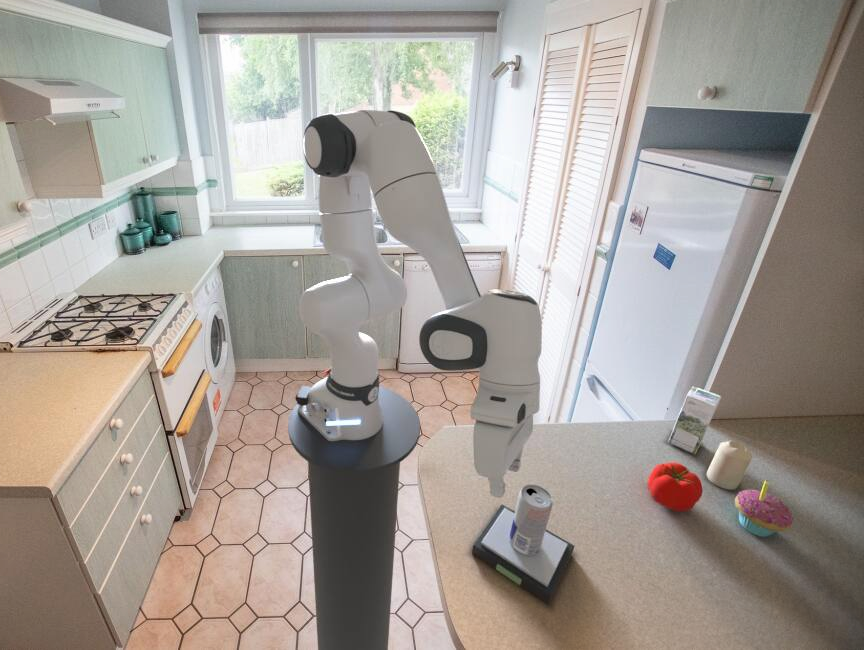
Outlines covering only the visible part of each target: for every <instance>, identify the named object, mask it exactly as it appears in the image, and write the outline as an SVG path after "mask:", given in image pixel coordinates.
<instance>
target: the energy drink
mask: <svg viewBox="0 0 864 650" xmlns="http://www.w3.org/2000/svg"><path fill="white" fill-rule="evenodd" d="M552 508H553V498H552V495H551V494H550V492H549V491H548V490H547V489H545V488H544V487H542V486H540V485H537V484H533V483H531V484H526V485H524V486H523V487H522V488H521V489H520V491H519V493H518V497H517V501H516V506H515V510H514V511H515V514H514V518H513V523H512V527H511V531H510V536H509V540H510V543H511V545H512V546H513V548H514V549H515V550H516V551H518V552H519V553H521V554H523V555H527V556H532V555H536V554H537V553H538V552H539V551H540V548H541V544H542V541H543V537H544V534H545V530H547V526H548V523H549V519H550V516H551V513H552V510H553V509H552Z"/></svg>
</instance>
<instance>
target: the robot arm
mask: <svg viewBox="0 0 864 650" xmlns="http://www.w3.org/2000/svg"><path fill="white" fill-rule="evenodd" d="M302 151H303V155H304V159H305V162H306V164H307V166H308V167H309V168H310V169H311V170H312V172H313V174H316V175H318V185H317V191H318V193H317V196H318V211H319V221H320V229H321V238H322V246H323V249H324V250H325V252H326V254H328V255H329V256H330V257H332V258H334V259H336V260H338V261H341V262H344V263H345V265H346V267H347V271H348V275H347V276H343V277H339V278H334V279H330V280H326V281H322V282H320V283H317V284H316V285H313V286H312V287H310V288H308V289H305V290H304V291H303V292H302V294H301V296H300V299H299V303H298V312H299V313H298V314H299V317H300V321H302V323H303V325H304V326H305V328H307V329H308V330H309V331H310V332H312V333H314V334H315V335H318V336H320V337H321V338H322V339H323V340H324V341H325V343H326V344H327V346H328V349H329V357H330V358H329V359H330V366H329V367H328V369H327V370H324V372H323V373H322V377H323V378H322V379H321V380H319V381H317V382H316V383H315V384H313V385H312V386H308V385H307V386H306V385H301V387H300V389H299V391H298V393H297V394H296V395H295V401H296V405H297V404H299V407H298V412H299V413H300V414H301V415H302V416H303V417H304V418H305V419H306V420H307V421H308V422H309V423H310V424H311V425H313V426H314V427H315V428H316V429H317V430H318V431H319V432H320V433H321V434H322V435H323V436H324V437H325V438H326V439H327V440H328V441H338V440H362V439H366V438H369V437H371V436H373V435H375V434H376V433H377V432H378V431H379V430H380V429H381V427H382V424H383V419H382V415H381V412H380V406H379V399H378V392H379V386H380V371H379V347H378V345H377V343H376V340H374V339H373V338H372V337H371V336H370V335H368V334H367V333H364V332H360V328H361V326H362V325H365V324H367V323H370V322H374V321H376V320H380V319H383V318H387V317H389V316H390V315H392V314H394V313H395V312H397V311H399V310H401V309H402V308H403V307H404V306H405V305H406V302H407V298H408V287H407V284H406V282H405V280H404V278H403V277H402V275H401V274H400V273H399V272H398V271H396V270H395V269H393V268H392V267H390V266H389V265H388V264H387V263H386V261H385V259H384V258H383V256H382V253H381V252H380V249H379V246H378V242H377V236H376V229H375V228H376V227H375V222H374V221H375V220H374V219H375V218H374V208H373V200H372V199H374V203H375V206H376V209H377V212H378V215H379V217H380V220H381V221H382V223H383V225H384V227H385V229H386V230H387V232H388V234H389V235H390V237H392V238H394V239H395V240H396V241H398V242H399V243H402V244H403V245H405V246H407V247H409V248H410V249H412V250H413V251H415V252H416V253H417V254H418V255H420V256H421V258H423V259H424V260H425V262H426V263H427V265H428V266H429V268H430V270H431V272H432V275H433V277H434V280H435V282H436V285H437V288H438V290H439V293H440V295H441V297H442V300H443V303H444V305H445V310H442V311H440V312H438V313H436V314H435V313H434V315H432V316H430V317H429V318H427V319H426V320H425V321H424V323H423V324H422V326H421V328H420V331H419V338H418V341H419V342H418V343H419V348H420V351H421V354H422V355H423V357H424V359H425V360H426V361H427V362H428V363H429V364H430V365H431V366H433V367H434V368H436V369H437V370H441V371H447V372H451V371H452V372H455V371H470V370H477V371H478V386H477V392H476V396H475V398H474V400H473V402H472V403H471V405H470V419H471V420H474V424H473V433H472V435H473V436H472V437H473V442H472V443H473V464H474V469H475V472H476V473H477V475H479V476H480V477H484V478H487V479H488V483H489V494H490V496H491V497H495V498H498V499H502V498H503V496H504V494H505V492H506V482H504V477H505V475H506V473H507V472H508V471H510V472H514V473H517V472H518V471H519V470H520V469H521V462H522V455H523V451H524V447H525V445H526V444H527V442H528V441H529V439H530V438H531V436H532V435H533V429H534V415H535V414H537V413H538V412H539V411H540V401H541V400H540V399H541V374H540V370H539V361H540V357H541V354H542V350H543V349H542V347H543V345H542V344H543V328H542V325H543V324H542V316H541V315H542V314H541V309H540V306H539V303H538V302H537V301H536V300H535V299H534V298H533V297H532V296H530V295H529V294H525V293H523V292H519V291H515V290H509V289H500V288H499V289H498V288H495V289H488V290H487V291H485V292H484V293H483V294H482V295H481V292H480V290H479V287H478V286H477V283H476V281H475V278H474V276H473V272H472V270H471V268H470V265H469V263H468V260H467V258H466V255H465V253H464V250H463V247H462V245H461V243H460V240H459V237H458V235H457V231H456V228H455V226H454V223H453V220H452V216H451V214H450V210H449V207H448V203H447V200H446V196H445V193H444V190H443V186H442V183H441V180H440V176H439V174H438V171H437V169H436V165H435V163H434V161H433V158H432V156H431V154H430V151H429V150H428V147H427V145H426V143H425V142H424V139H423V137H422V136H421V134H420V132H419V131H418V129H417V125H416V123H415V121H414V119H412V117H411V116H410V115H408V114H406V113H404V112H400V111H397V110H387V111H385V110H374V109H360V110H357V111H348V112H347V111H346V112H341V113H336V114H335V113H334V114H333V113H325V114H321V115H318V116H314V117H313V118H311V119H310V120H309V121H308V123H307V125H306V127H305V129H304V132H303V135H302ZM372 196H373V198H372Z"/></svg>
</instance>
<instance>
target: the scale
mask: <svg viewBox="0 0 864 650" xmlns="http://www.w3.org/2000/svg"><path fill="white" fill-rule="evenodd" d="M514 514H515V510H513V509H511V508H510V507H508V506H507V505H504V504H502V503H501V505H499V507H498V509H496V511H495V513H494V514H493V516H492V517H491V519H490V520H489V521H488V523H487V525H486V526H485V527H484V529H483V530H482V531H481V533H480V535H479V536H478V537H477V539H476V540H475V542H474V543H473V545H472V550H471V554H472V555H473V556H475V557H476V558H477V559H479V560H481V561H482V562H484V563H485V564H486V565H488V566H490V567H491V568H493V569H494V570H496V571H498V572H499V573H500V574H502V575H503V576H505V577H506V578H508V579H509V580H510V581H512V582H514V583H515V584H517V585H518V586H520V587H521V588H522V589H524V590H526V591H527V592H529V593H530V594H532V595H533V596H535V598H538V599H539V600H541V601H542V602H544V603H545V604H547V605H550V603H551V600H552V598H553V596H554V594H555V591H556V590H557V588H558V586H559V584H560V581H561V579H562V577H563V575H564V572H565V570H566V568H567V566H568V564H569V562H570V560H571V558H572V556H573V552H574V549H575V544H573V543H570V542H569V541H567V540H565V539H564V538H562V537H560V536H559V535H556V534H555V533H553V532H552V531H549V530H547V529H546V530H545V534H544V537H543V541H542V544H541V548H540V551H539V552H538V553H537V554H536V555H532V556H527V555H523V554H521V553H519V552H518V551H516V550H515V549H514V548H513V546H512V545H511V543H510V540H509V536H510V531H511V527H512V523H513V518H514Z"/></svg>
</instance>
